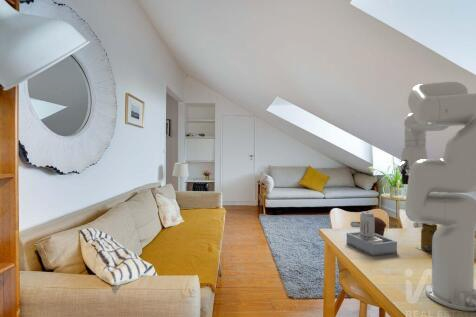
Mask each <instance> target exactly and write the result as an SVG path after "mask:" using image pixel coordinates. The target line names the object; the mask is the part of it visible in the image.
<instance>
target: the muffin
mask: <svg viewBox="0 0 476 317" xmlns="http://www.w3.org/2000/svg"><path fill="white" fill-rule="evenodd" d="M374 217H375V229H374V233H376V234H378V235H381V236H383V237H384V234H385V229H386V227H387V224H386V222H385V221H384V220H383V219H381V218H380V217H376V216H374Z"/></svg>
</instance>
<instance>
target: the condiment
mask: <svg viewBox="0 0 476 317" xmlns="http://www.w3.org/2000/svg"><path fill="white" fill-rule="evenodd" d="M437 229H438V224H429V223H422V226H421V230H420V234H421V235H420V246H418V247H415V248H416V249H418V250H421V251H422V252H425V253H428V254H431V255H432V238H433V235H434V233H435V231H436V230H437Z"/></svg>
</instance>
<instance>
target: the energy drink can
mask: <svg viewBox="0 0 476 317" xmlns="http://www.w3.org/2000/svg"><path fill="white" fill-rule="evenodd" d="M375 217H376V216H375V215H374V213H373V212H372V211H361V214H360V215H359V232H360V238H361V239H363V240H365V241H371V240H374V229H375Z"/></svg>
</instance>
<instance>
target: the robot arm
mask: <svg viewBox="0 0 476 317" xmlns="http://www.w3.org/2000/svg"><path fill="white" fill-rule="evenodd" d="M407 103H408V104H407V105H408V108H409V110H410V113H409V114H408V115H406V117H405V118H404V121H403V122H404V124H403V125H404V147H403V148H402V152H401V159H400V163H399V164H398V165H397V167H398V171H399V172H400V175H401V184H402V185H407V188H406V194H405V195H406V196H405V203H404V210H405V211H404V212H405V215H406V217H407V219H408V220H410V221H411V222H414V223H419V224H423V223H429V224H436V225H440V226H439V227H437V230H436V231H435V233H434V235H433V238H432V254H431V284H427V285H426V286H425V287H424V288H425V289H424V290H425V293H426V295H427V296H428V297H429V298H430V299H432V301H435V302H436V303H438V304H439V305H440V304H441V305H443V306H445V307H448V308H451V309H455V310H460V311H463V312H464V311H465V312H475V311H476V289H474V285H475V284H474V282H475V281H474V280H475V275H474V274H475V238H476V199H475V198H474V197H473V196H471V195H468V194H467V193H472V192H474V191H476V93H469V91H468V88H467V87H466V85H465V84H463V83H461V82H457V81H442V82H432V83H430V82H429V83H427V82H426V83H421V84H417V85H415V86H414V87H413V88H412V89H411V91H410V92H409V95H408V98H407ZM454 126H455V127H457V126H464V127H463V128H461V129H460V130H458V131H457V132H455V133H454V134H453V135H452V136H451V137H450V138H449V140H448V141H446V143H445V148H444V152H443V153H444V154H443V156H442V157H441V158H438V159H437V158H434V159H433V158H432V159H431V158H428V154H427V146H426V144H427V143H426V142H427V141H426V140H427V132H440V131H444V130H446V129H448V128H449V127H454Z"/></svg>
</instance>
